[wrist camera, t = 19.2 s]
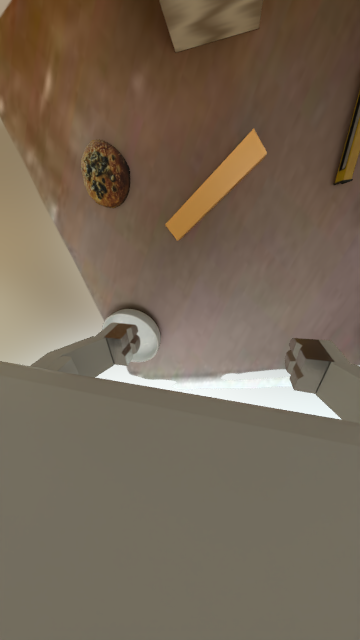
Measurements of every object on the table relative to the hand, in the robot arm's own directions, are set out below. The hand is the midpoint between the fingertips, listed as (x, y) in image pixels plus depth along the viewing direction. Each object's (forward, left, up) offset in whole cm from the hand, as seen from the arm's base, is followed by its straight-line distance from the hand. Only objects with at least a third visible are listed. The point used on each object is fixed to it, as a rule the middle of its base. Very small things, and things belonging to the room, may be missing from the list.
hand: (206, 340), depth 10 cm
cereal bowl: (+24, +22, -35) cm, 48 cm away
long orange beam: (+3, -10, -35) cm, 37 cm away
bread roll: (+25, -15, -35) cm, 46 cm away
